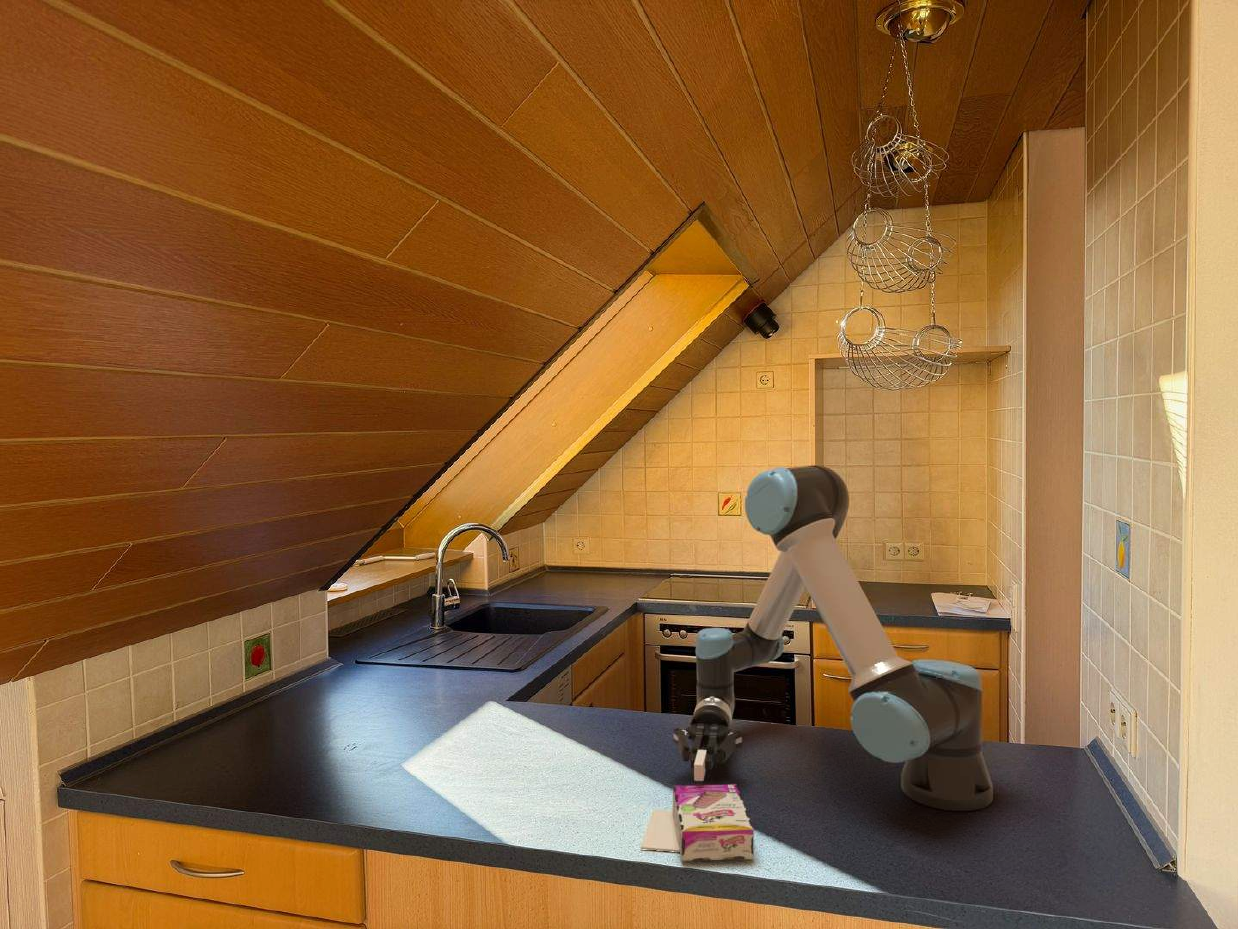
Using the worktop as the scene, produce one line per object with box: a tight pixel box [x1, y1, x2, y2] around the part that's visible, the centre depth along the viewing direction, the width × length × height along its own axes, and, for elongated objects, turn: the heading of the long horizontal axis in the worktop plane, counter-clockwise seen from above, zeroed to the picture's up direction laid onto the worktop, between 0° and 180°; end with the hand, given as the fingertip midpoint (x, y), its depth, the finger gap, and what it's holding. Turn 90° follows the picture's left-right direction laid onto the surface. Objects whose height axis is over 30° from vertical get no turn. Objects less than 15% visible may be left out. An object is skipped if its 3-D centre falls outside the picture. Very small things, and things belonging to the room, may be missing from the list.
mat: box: [640, 808, 680, 852], centre depth 136 cm, size 13×16×1 cm
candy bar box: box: [672, 783, 755, 862], centre depth 135 cm, size 11×5×16 cm
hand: (698, 772), depth 141 cm, fingers closed
